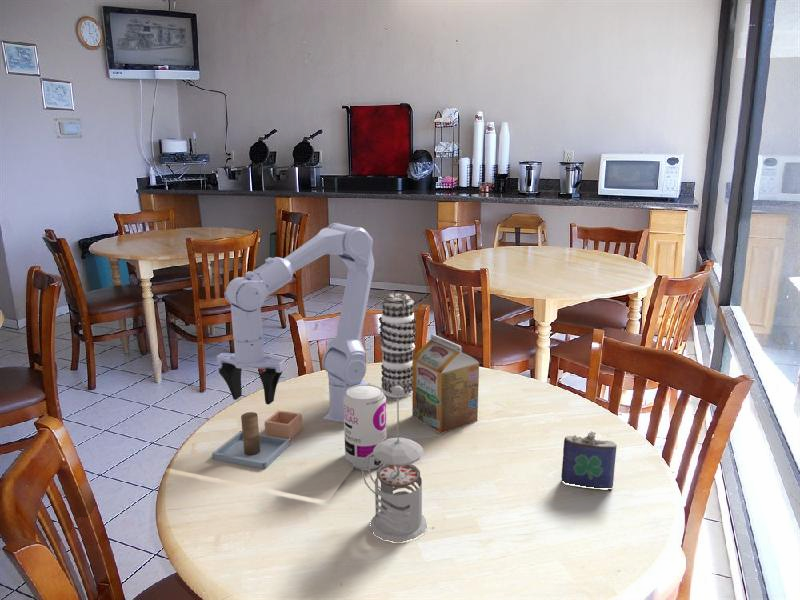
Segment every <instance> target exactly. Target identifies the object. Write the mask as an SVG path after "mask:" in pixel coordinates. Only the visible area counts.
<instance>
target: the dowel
mask: <svg viewBox="0 0 800 600" xmlns="http://www.w3.org/2000/svg"><path fill="white" fill-rule="evenodd" d="M240 419H241V420H240V421H241V431H242V433H243V445H244V453H245V454H246V455H249V456H251V455H256V454H258V453H259V452H260V441H259V434H260V431H259V418H258V413H256V412H254V411H249V412H245V413H243V414H241V416H240Z"/></svg>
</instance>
